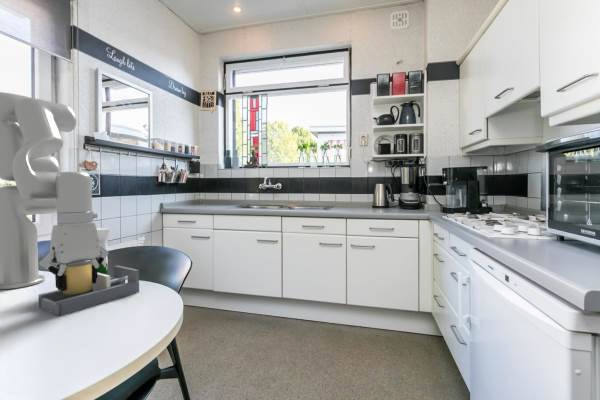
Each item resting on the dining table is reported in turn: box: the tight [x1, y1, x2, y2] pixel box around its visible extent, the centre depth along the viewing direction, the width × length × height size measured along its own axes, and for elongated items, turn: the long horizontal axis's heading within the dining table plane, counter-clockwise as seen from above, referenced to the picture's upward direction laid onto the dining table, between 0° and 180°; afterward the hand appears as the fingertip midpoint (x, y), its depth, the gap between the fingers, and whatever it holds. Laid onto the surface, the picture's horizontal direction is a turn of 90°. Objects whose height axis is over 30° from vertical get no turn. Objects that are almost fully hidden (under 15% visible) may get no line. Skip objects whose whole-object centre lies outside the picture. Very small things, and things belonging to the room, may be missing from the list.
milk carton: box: [95, 227, 111, 275], centre depth 95 cm, size 9×9×20 cm
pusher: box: [93, 272, 128, 292], centre depth 90 cm, size 8×8×6 cm
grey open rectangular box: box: [38, 265, 140, 317], centre depth 85 cm, size 11×20×6 cm, turn 149°
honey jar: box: [63, 259, 92, 294], centre depth 81 cm, size 7×7×8 cm
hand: (77, 285), depth 81 cm, fingers closed on honey jar, 6 cm apart
